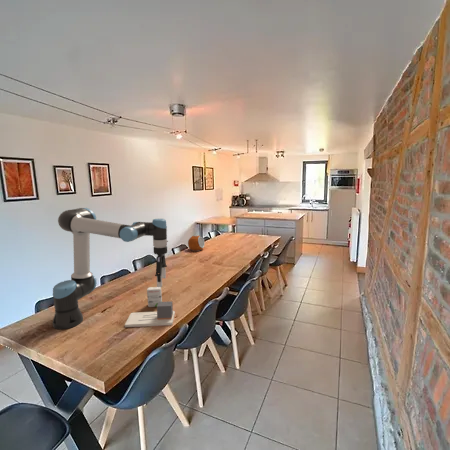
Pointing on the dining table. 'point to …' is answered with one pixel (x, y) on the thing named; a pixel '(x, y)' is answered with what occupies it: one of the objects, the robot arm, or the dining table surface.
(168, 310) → the block
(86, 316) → the dining table surface
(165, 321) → the board
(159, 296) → the ink box
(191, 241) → the alarm clock
